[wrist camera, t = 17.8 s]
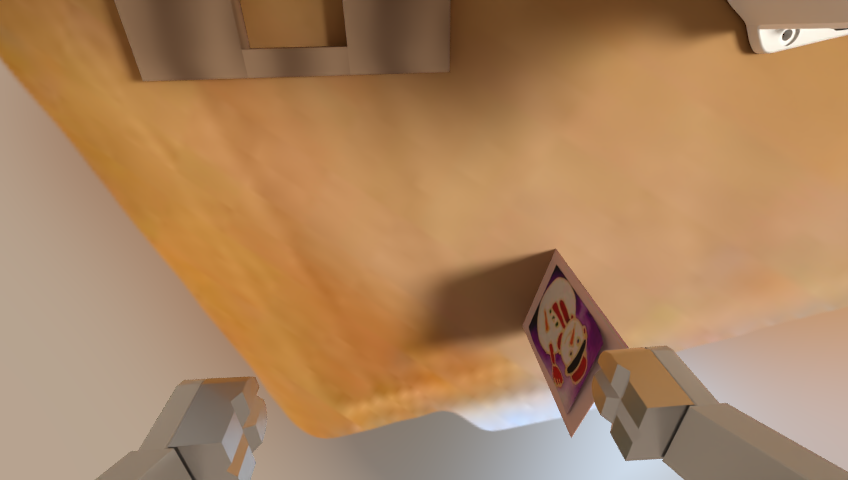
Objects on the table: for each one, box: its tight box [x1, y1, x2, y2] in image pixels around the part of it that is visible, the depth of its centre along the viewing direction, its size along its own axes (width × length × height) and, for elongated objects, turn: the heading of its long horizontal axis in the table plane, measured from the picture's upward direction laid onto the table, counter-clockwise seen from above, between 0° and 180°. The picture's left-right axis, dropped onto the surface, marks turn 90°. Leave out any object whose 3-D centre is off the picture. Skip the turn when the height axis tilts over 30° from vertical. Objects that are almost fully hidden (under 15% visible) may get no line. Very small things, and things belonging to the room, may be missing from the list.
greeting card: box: [522, 250, 629, 437], centre depth 39 cm, size 11×7×15 cm, turn 168°
